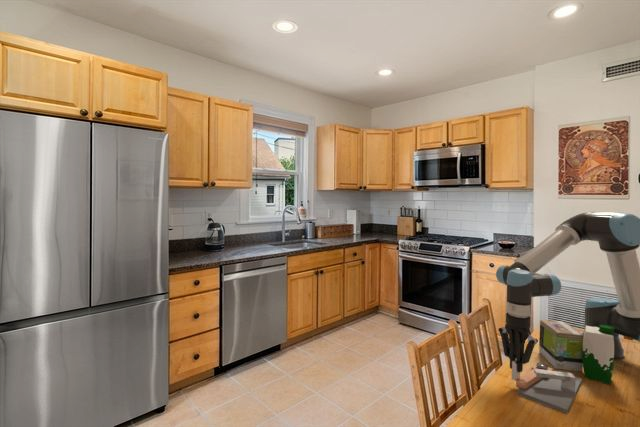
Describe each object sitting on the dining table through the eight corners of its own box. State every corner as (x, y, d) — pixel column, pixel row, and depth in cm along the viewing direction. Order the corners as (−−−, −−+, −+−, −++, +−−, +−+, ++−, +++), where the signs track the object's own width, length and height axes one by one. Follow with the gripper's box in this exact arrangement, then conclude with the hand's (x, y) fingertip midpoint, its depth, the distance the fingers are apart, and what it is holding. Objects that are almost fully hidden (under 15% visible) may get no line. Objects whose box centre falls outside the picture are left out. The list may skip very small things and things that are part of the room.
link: (537, 368, 128) (537, 363, 128) (552, 374, 124) (553, 369, 124) (511, 384, 117) (511, 379, 117) (527, 391, 113) (527, 386, 113)
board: (537, 367, 132) (537, 364, 132) (581, 381, 122) (582, 378, 122) (517, 394, 114) (517, 390, 114) (567, 413, 104) (567, 409, 104)
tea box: (583, 372, 129) (585, 334, 128) (554, 369, 131) (556, 332, 130) (563, 354, 143) (564, 320, 143) (538, 352, 145) (539, 318, 145)
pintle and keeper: (539, 370, 127) (539, 357, 127) (581, 388, 115) (582, 374, 115) (520, 379, 121) (520, 365, 121) (562, 399, 109) (562, 384, 109)
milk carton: (613, 386, 118) (615, 332, 117) (581, 378, 124) (583, 325, 123) (612, 376, 125) (614, 324, 124) (581, 368, 131) (583, 319, 130)
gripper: (494, 310, 121) (492, 373, 122) (530, 322, 110) (528, 391, 111) (506, 307, 125) (504, 368, 126) (543, 318, 113) (540, 385, 114)
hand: (515, 378), depth 118 cm, fingers closed
